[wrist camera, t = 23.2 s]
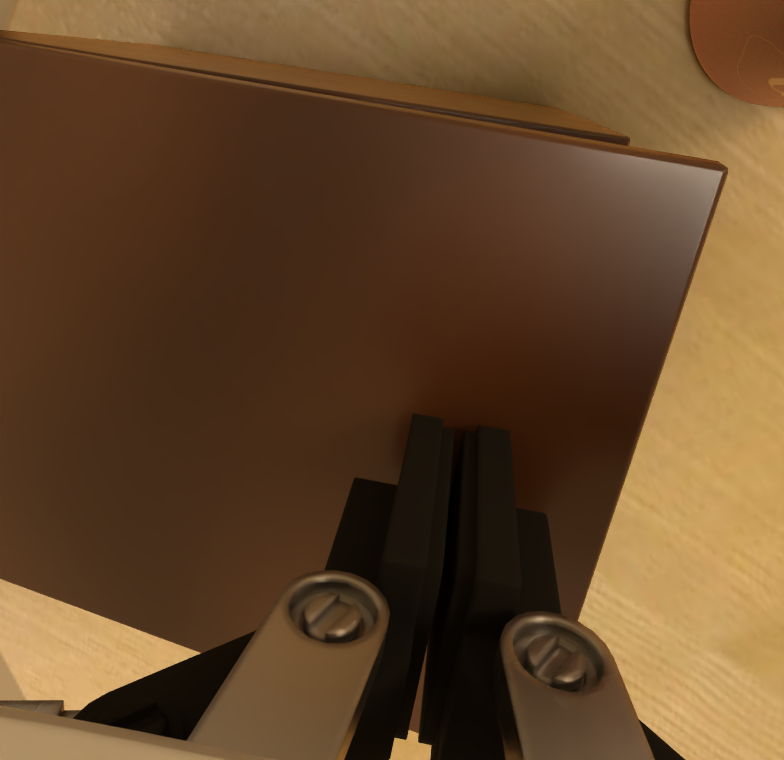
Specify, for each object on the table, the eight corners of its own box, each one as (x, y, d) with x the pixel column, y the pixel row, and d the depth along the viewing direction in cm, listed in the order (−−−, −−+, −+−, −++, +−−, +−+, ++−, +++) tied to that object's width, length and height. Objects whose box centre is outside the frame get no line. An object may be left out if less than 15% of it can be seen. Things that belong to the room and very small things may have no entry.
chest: (559, 108, 23) (631, 137, 12) (488, 420, 28) (494, 639, 17) (156, 44, 24) (-118, 19, 13) (157, 361, 29) (-41, 535, 18)
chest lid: (722, 161, 10) (731, 167, 9) (531, 742, 15) (526, 775, 14) (-118, 18, 13) (-161, 14, 12) (-39, 537, 18) (-66, 556, 17)
